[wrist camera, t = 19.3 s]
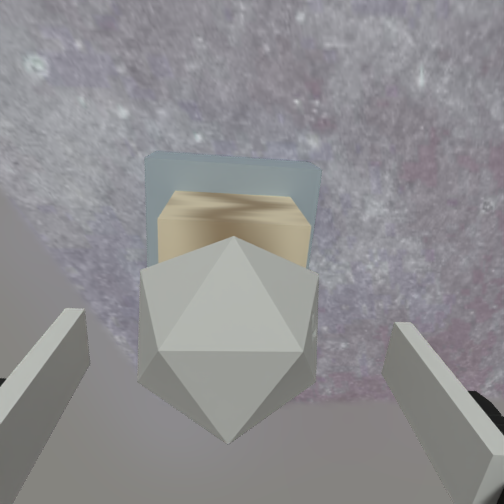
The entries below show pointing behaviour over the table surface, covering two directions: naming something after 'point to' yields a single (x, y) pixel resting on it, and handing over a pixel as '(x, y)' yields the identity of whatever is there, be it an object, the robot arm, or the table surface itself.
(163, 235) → the maple block
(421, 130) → the table surface
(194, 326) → the die
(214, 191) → the plinth
